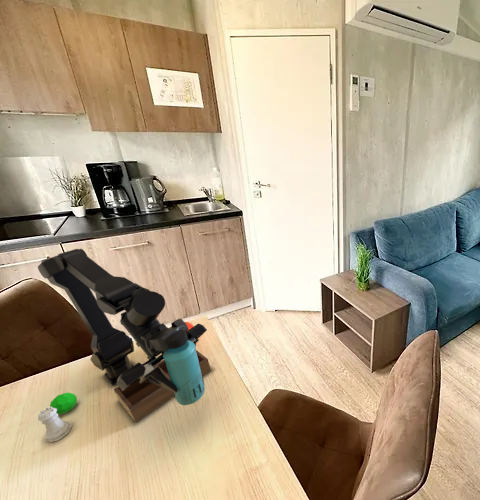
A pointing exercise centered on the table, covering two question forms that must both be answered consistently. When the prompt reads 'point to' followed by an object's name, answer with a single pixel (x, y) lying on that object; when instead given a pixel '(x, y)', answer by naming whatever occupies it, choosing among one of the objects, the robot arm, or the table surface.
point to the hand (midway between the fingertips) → (188, 382)
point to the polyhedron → (64, 402)
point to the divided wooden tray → (151, 392)
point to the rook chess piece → (53, 424)
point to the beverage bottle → (184, 368)
